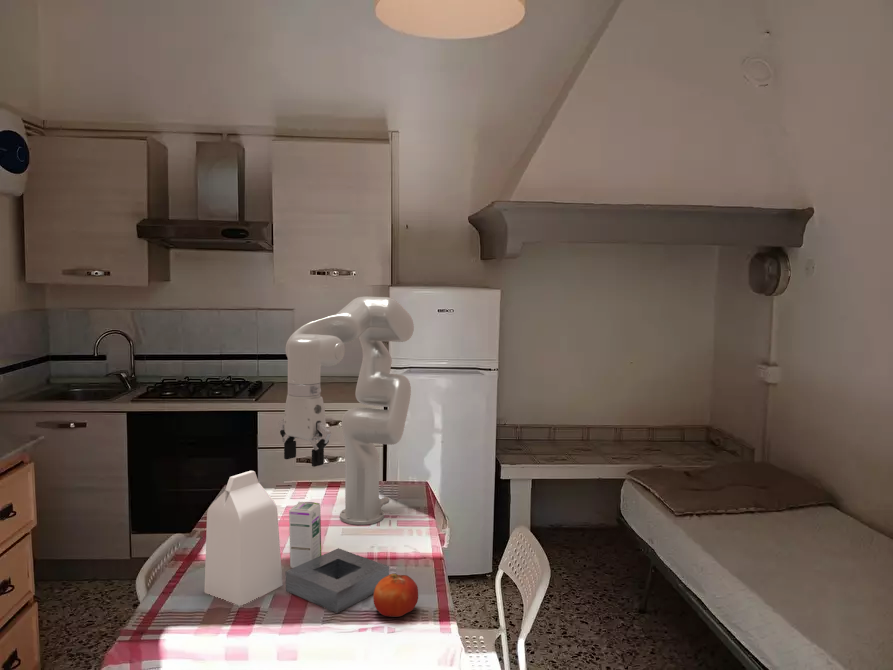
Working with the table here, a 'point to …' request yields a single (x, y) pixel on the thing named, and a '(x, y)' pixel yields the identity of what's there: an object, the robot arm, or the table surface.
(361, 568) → the bore block
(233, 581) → the milk
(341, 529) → the table surface
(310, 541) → the syrup box
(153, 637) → the table surface
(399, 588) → the tomato
